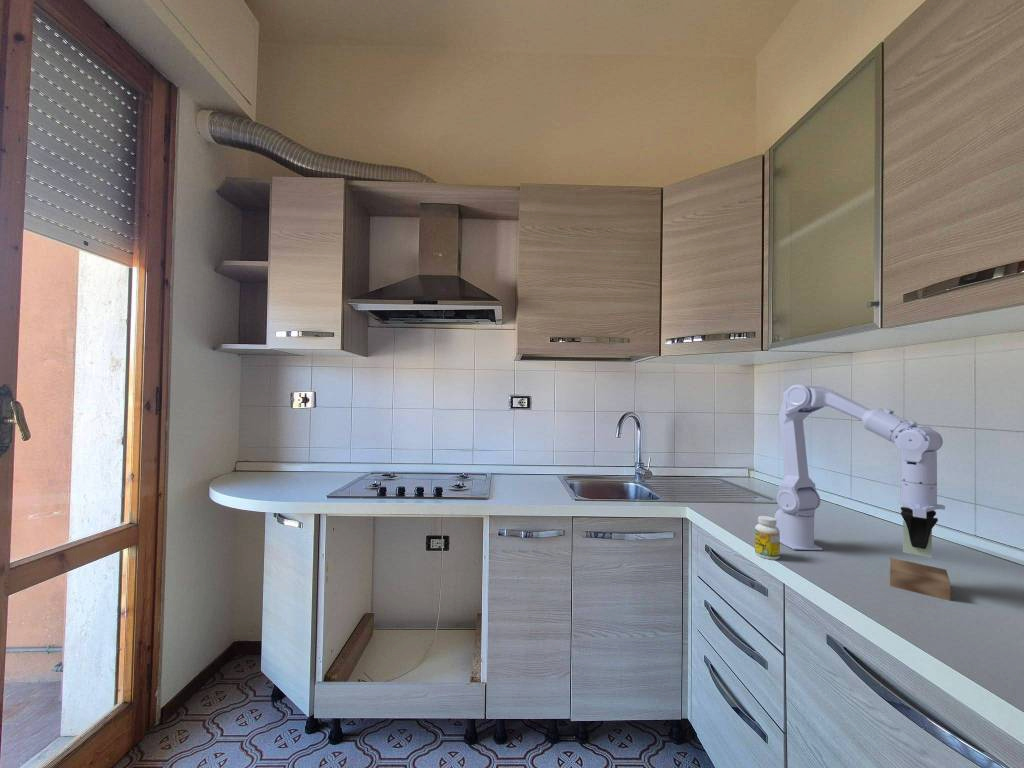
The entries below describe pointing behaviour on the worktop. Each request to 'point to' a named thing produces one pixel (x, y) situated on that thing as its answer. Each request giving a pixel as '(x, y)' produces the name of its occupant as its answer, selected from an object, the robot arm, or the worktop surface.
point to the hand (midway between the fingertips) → (918, 544)
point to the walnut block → (920, 578)
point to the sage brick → (914, 550)
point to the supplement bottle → (767, 538)
